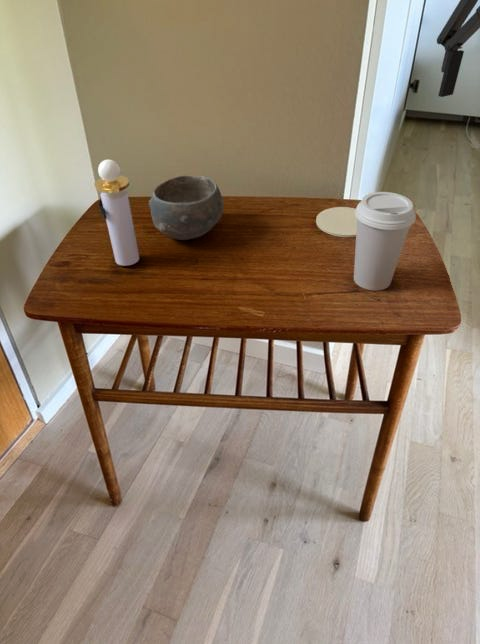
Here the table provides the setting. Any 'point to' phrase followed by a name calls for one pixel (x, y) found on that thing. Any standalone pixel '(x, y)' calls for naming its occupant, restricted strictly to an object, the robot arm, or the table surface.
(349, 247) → the table surface
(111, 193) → the perfume bottle
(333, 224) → the cream mat
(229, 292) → the table surface
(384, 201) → the coffee cup
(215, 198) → the bowl
